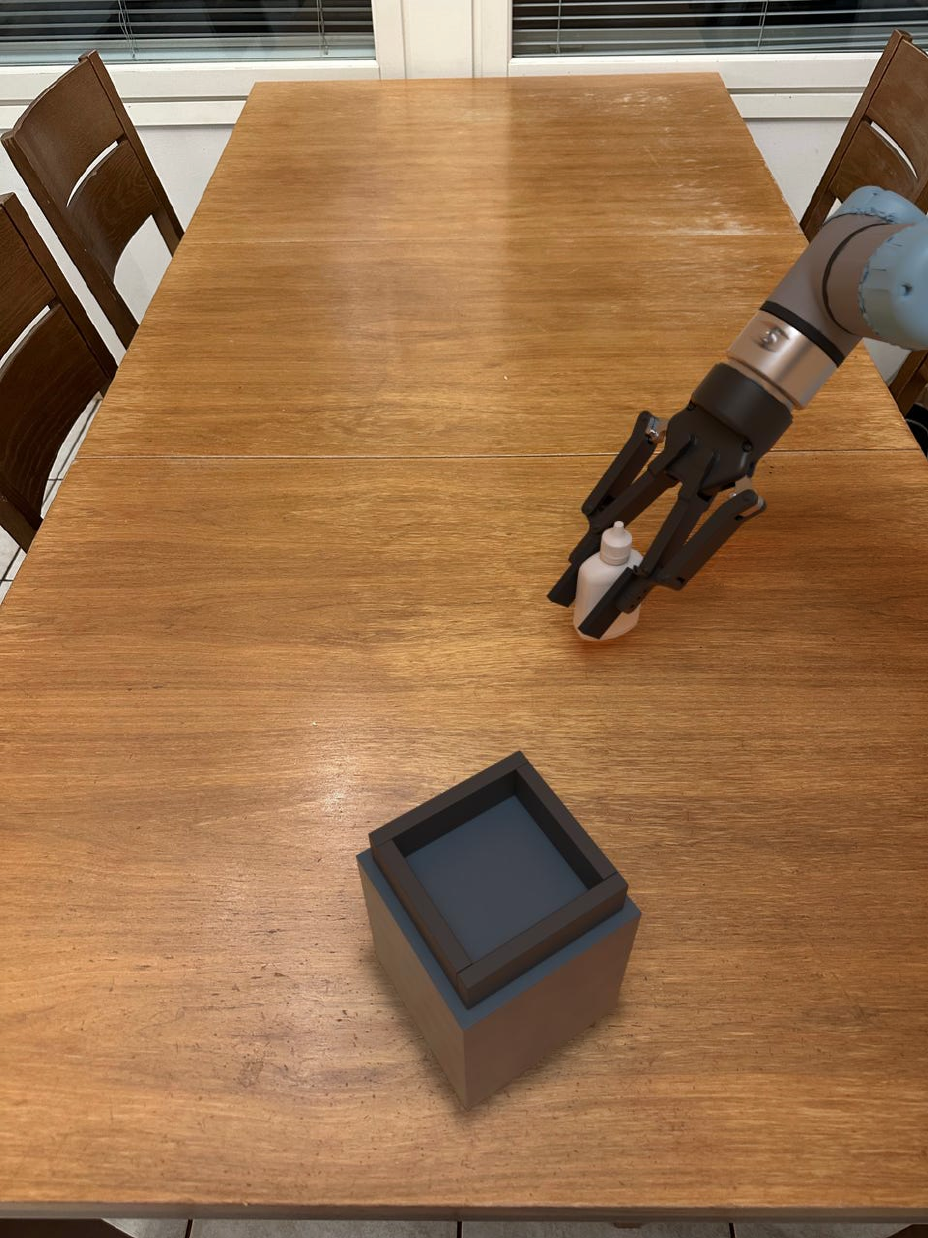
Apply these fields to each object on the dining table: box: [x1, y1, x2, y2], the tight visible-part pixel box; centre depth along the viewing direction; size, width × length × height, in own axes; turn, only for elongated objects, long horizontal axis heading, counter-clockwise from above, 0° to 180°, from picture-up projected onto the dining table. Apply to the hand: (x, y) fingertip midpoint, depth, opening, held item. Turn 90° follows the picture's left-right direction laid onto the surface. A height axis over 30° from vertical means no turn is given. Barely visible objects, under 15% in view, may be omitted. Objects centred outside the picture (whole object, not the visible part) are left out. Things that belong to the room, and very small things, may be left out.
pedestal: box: [355, 749, 643, 1112], centre depth 59 cm, size 12×12×18 cm
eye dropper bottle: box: [572, 521, 644, 642], centre depth 79 cm, size 4×6×12 cm
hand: (572, 617), depth 80 cm, fingers closed on eye dropper bottle, 4 cm apart
